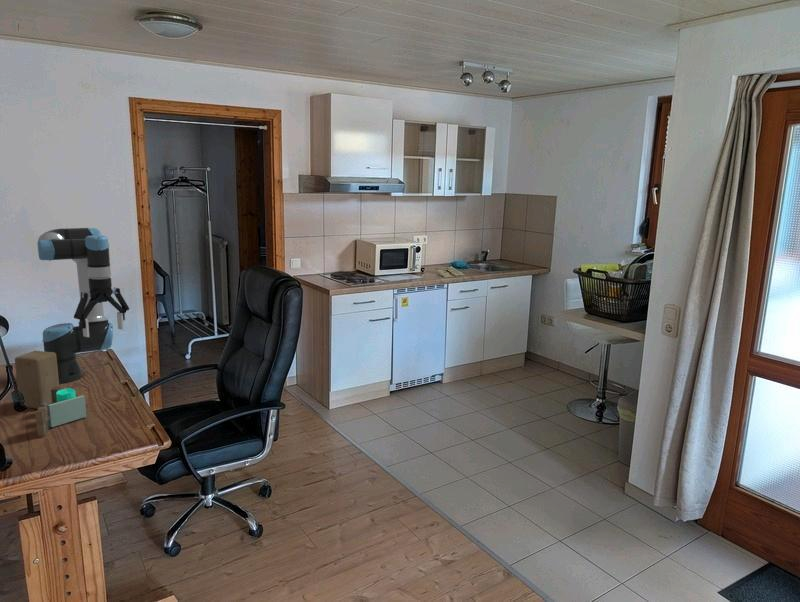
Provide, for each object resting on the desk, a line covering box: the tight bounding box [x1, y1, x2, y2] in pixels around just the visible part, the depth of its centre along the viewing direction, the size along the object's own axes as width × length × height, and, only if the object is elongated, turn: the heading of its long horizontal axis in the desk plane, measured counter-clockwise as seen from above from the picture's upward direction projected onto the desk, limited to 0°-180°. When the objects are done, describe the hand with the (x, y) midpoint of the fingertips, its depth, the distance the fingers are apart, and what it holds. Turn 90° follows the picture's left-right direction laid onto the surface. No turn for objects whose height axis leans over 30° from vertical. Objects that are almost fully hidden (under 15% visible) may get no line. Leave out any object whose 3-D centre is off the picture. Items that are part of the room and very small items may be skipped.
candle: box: [56, 387, 77, 402], centre depth 208 cm, size 6×6×12 cm
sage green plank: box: [47, 394, 87, 428], centre depth 205 cm, size 12×1×8 cm, turn 145°
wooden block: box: [14, 350, 60, 410], centre depth 219 cm, size 10×10×20 cm
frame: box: [34, 385, 62, 438], centre depth 205 cm, size 25×2×10 cm, turn 18°
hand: (104, 332), depth 217 cm, fingers open, 13 cm apart
